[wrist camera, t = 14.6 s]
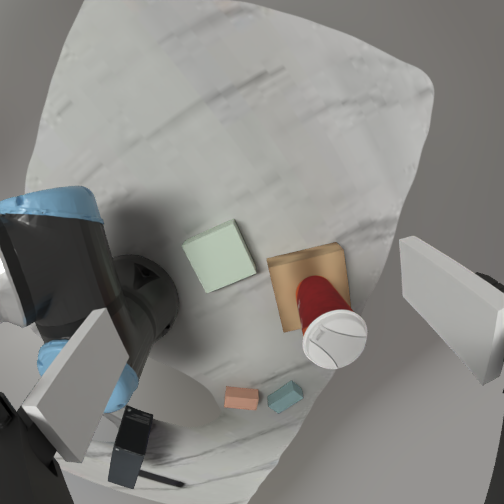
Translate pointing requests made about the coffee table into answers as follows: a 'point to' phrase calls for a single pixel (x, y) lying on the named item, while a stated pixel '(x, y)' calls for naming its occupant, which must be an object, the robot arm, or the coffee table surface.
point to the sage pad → (219, 256)
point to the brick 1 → (241, 398)
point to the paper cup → (328, 324)
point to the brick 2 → (285, 397)
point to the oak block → (300, 267)
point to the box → (130, 447)
